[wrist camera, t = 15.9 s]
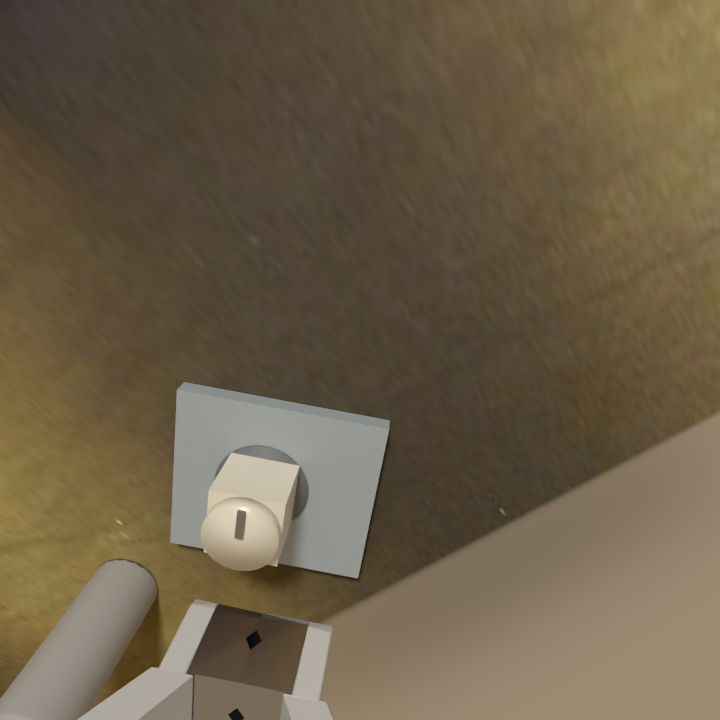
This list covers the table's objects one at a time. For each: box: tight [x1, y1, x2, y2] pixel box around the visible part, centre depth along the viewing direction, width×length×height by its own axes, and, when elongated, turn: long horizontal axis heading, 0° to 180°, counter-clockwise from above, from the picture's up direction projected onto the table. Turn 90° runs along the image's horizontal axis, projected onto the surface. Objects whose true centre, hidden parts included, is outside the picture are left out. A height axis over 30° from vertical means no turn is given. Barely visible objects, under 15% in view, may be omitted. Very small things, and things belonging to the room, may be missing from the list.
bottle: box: [0, 559, 158, 720], centre depth 41 cm, size 7×7×28 cm
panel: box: [170, 382, 390, 578], centre depth 45 cm, size 18×16×7 cm
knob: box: [201, 453, 300, 571], centre depth 43 cm, size 6×6×7 cm
